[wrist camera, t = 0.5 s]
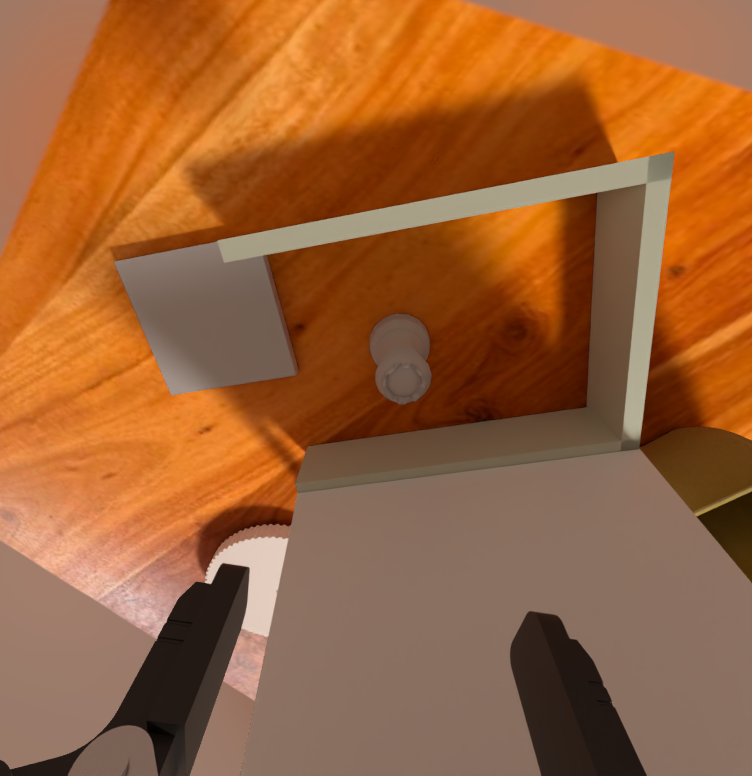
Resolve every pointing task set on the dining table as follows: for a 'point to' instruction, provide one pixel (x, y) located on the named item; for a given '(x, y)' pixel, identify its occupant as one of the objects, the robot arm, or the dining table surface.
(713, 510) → the flower pot
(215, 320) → the slate tile
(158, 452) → the dining table surface
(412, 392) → the rook chess piece
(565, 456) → the frame
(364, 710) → the lid propped
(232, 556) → the plastic lid
